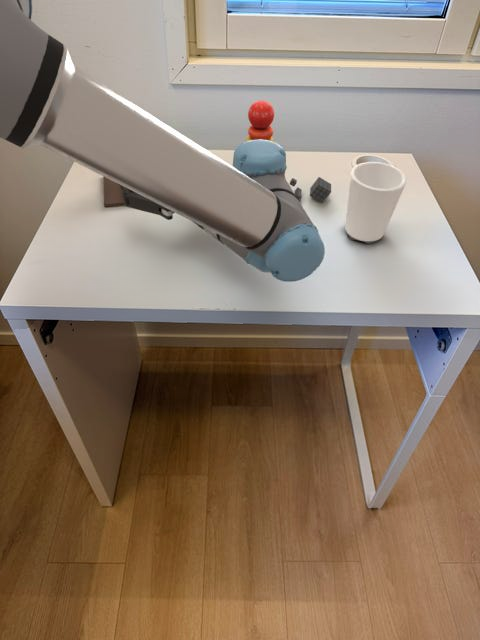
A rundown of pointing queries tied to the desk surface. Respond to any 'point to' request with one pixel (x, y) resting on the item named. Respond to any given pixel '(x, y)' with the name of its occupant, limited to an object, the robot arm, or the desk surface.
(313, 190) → the building blocks
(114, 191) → the coaster
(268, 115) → the stacking toy
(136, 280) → the desk surface
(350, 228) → the cup
